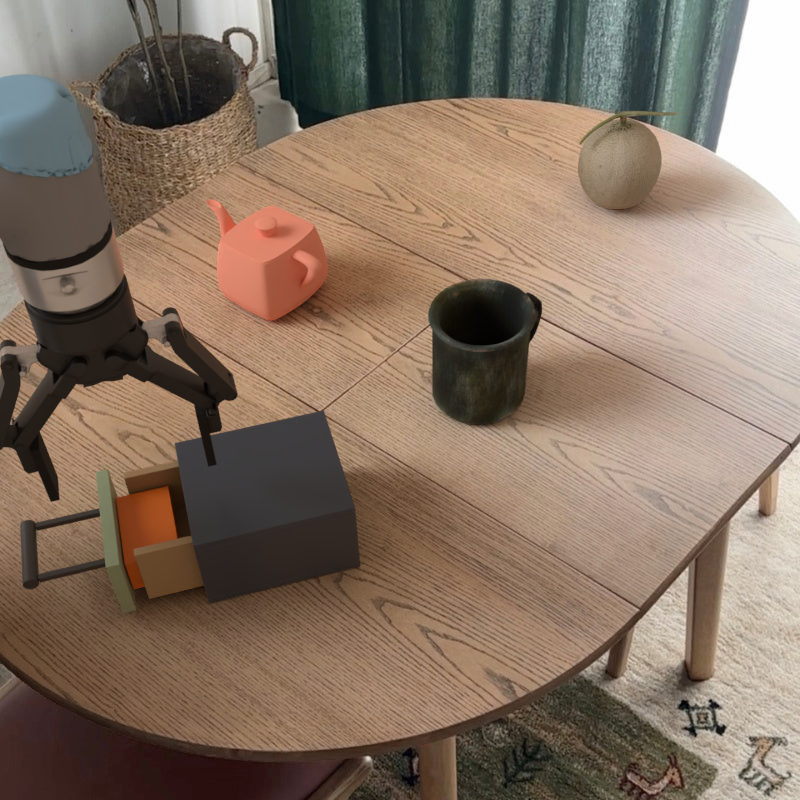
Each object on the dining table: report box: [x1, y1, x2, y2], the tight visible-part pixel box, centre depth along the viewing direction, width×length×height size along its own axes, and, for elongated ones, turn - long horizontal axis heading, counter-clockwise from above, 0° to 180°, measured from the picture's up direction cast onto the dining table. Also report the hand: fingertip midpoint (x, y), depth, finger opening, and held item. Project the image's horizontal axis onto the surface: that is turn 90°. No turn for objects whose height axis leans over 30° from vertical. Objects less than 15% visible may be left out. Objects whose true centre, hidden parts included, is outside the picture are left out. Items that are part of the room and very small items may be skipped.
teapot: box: [206, 198, 329, 321], centre depth 127 cm, size 12×18×10 cm, turn 51°
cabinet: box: [174, 410, 361, 604], centre depth 101 cm, size 15×13×9 cm
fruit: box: [577, 110, 678, 210], centre depth 136 cm, size 10×12×15 cm
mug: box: [427, 278, 543, 426], centre depth 114 cm, size 11×15×12 cm
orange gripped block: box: [116, 486, 180, 590], centre depth 100 cm, size 5×8×4 cm, turn 16°
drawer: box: [19, 460, 204, 614], centre depth 99 cm, size 21×11×7 cm, turn 106°
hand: (133, 472), depth 93 cm, fingers open, 13 cm apart
